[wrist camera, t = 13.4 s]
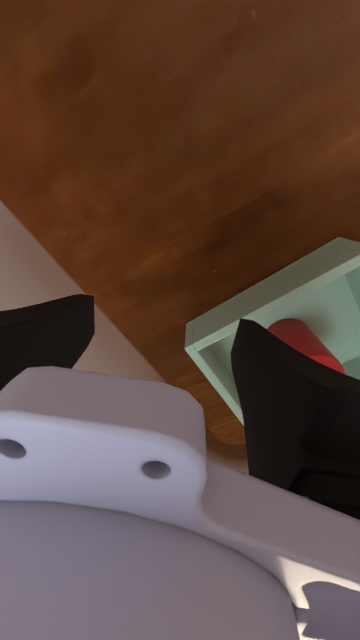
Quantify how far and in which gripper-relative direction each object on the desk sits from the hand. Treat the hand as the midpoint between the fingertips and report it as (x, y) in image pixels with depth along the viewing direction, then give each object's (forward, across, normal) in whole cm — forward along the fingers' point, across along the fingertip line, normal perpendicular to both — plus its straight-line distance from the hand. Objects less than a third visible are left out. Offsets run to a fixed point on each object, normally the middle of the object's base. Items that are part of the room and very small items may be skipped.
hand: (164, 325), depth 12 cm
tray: (+10, -11, +5) cm, 16 cm away
